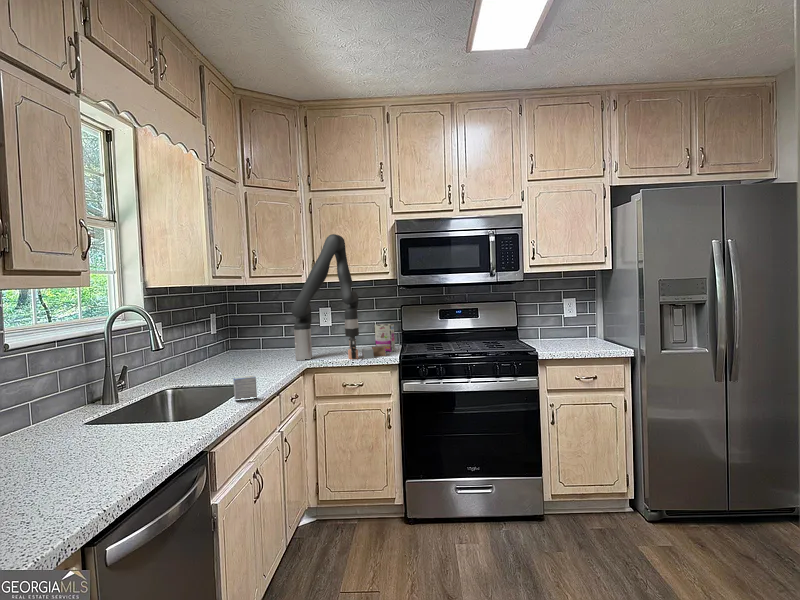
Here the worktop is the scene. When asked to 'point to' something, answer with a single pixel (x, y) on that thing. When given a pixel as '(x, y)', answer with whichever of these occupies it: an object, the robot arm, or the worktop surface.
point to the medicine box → (245, 387)
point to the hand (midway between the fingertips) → (353, 357)
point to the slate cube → (367, 353)
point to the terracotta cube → (351, 354)
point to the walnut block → (379, 351)
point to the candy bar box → (385, 336)
